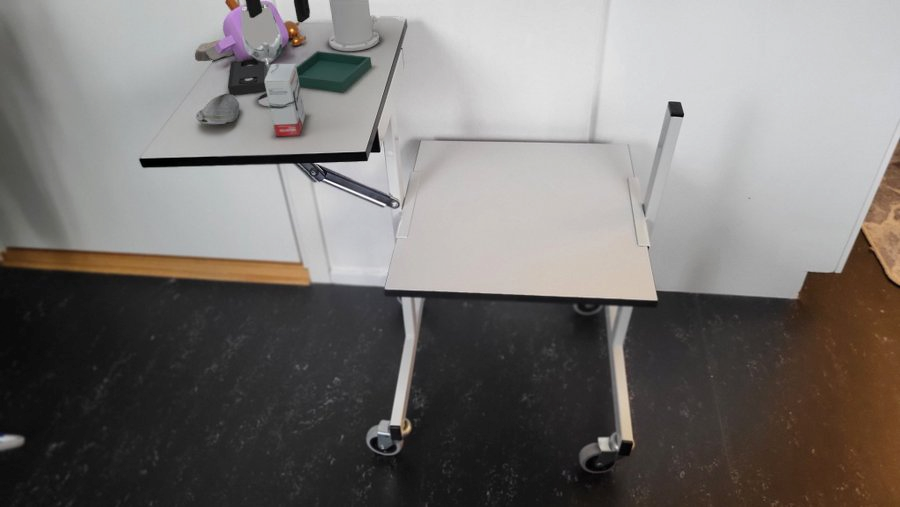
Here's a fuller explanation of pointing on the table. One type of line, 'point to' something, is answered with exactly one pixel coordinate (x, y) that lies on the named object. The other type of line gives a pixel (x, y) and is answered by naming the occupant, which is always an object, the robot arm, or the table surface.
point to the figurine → (294, 32)
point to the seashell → (219, 110)
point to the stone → (210, 52)
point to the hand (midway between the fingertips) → (279, 17)
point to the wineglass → (261, 38)
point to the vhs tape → (247, 76)
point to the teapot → (234, 33)
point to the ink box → (285, 99)
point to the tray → (332, 71)
